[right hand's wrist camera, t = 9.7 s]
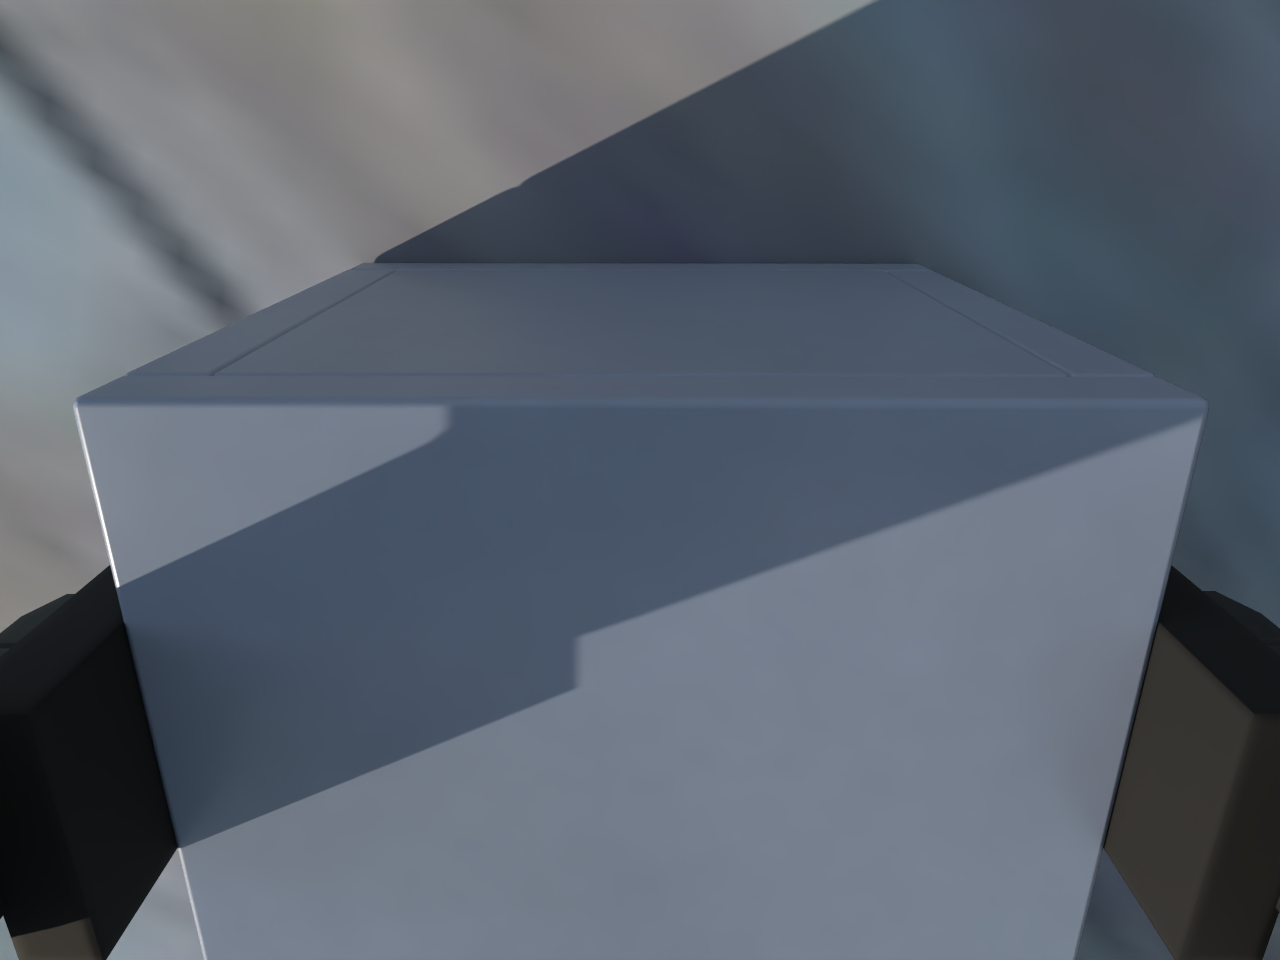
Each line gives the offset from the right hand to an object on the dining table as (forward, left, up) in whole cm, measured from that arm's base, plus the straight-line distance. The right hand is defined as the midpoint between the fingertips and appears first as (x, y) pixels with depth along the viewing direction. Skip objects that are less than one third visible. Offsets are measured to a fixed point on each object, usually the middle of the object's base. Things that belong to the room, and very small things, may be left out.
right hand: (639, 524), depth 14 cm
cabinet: (+6, +3, -3) cm, 7 cm away
